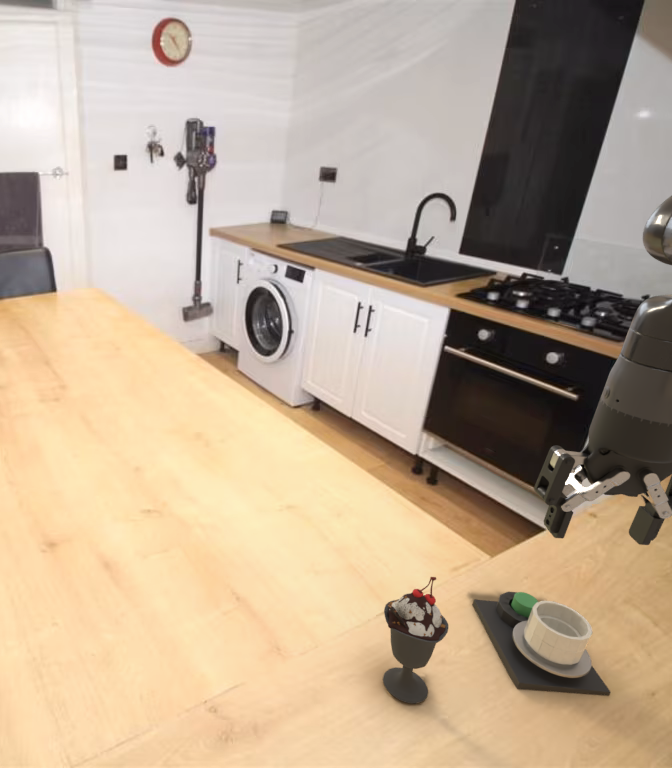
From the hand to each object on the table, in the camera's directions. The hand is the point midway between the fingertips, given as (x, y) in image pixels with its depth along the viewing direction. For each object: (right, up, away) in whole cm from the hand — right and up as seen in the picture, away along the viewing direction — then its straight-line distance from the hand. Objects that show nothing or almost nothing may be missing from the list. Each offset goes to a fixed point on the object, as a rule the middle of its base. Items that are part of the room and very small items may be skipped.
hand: (595, 536), depth 59 cm
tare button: (+1, -13, +13) cm, 19 cm away
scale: (0, -17, +10) cm, 20 cm away
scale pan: (0, -16, +7) cm, 17 cm away
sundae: (-19, -19, +5) cm, 27 cm away
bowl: (0, -15, +7) cm, 17 cm away
